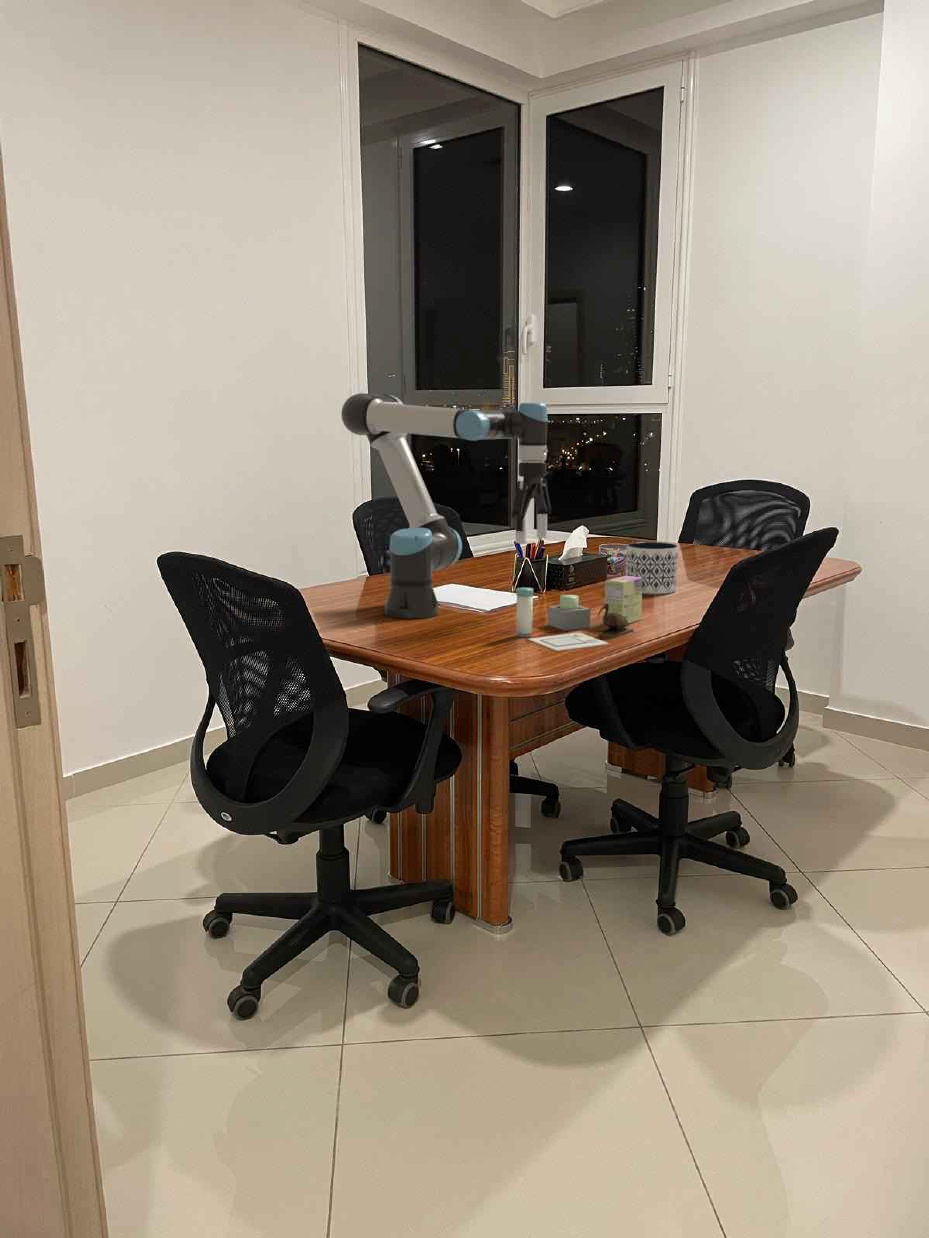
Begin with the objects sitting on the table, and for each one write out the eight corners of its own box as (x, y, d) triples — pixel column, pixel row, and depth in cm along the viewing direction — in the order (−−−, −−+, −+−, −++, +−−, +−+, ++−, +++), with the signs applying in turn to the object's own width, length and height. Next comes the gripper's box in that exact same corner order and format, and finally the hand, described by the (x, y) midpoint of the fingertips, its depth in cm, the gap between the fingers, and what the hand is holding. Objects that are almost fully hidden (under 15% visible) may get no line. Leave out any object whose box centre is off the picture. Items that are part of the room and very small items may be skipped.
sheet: (556, 651, 225) (556, 649, 225) (528, 639, 237) (528, 638, 237) (609, 644, 232) (609, 642, 232) (578, 633, 243) (579, 632, 243)
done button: (566, 621, 248) (566, 598, 247) (556, 617, 252) (556, 595, 251) (581, 619, 250) (582, 597, 249) (571, 616, 255) (571, 594, 253)
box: (623, 617, 263) (624, 575, 261) (641, 620, 259) (643, 577, 257) (603, 623, 255) (604, 580, 253) (622, 626, 252) (623, 582, 249)
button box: (564, 630, 247) (564, 611, 246) (547, 624, 254) (548, 606, 252) (590, 627, 250) (590, 608, 249) (572, 621, 257) (573, 603, 256)
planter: (677, 595, 294) (679, 549, 291) (625, 594, 297) (626, 548, 294) (674, 586, 309) (676, 542, 306) (624, 585, 312) (626, 541, 309)
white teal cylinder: (521, 638, 238) (522, 591, 236) (512, 634, 242) (513, 588, 240) (535, 636, 240) (536, 589, 238) (527, 633, 244) (527, 586, 241)
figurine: (605, 642, 235) (606, 607, 234) (589, 639, 238) (590, 605, 236) (633, 631, 246) (634, 598, 244) (618, 629, 249) (619, 597, 247)
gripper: (525, 464, 244) (524, 546, 248) (563, 460, 265) (562, 536, 270) (499, 463, 247) (498, 544, 252) (539, 459, 269) (538, 534, 273)
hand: (531, 540), depth 261 cm, fingers open, 13 cm apart
